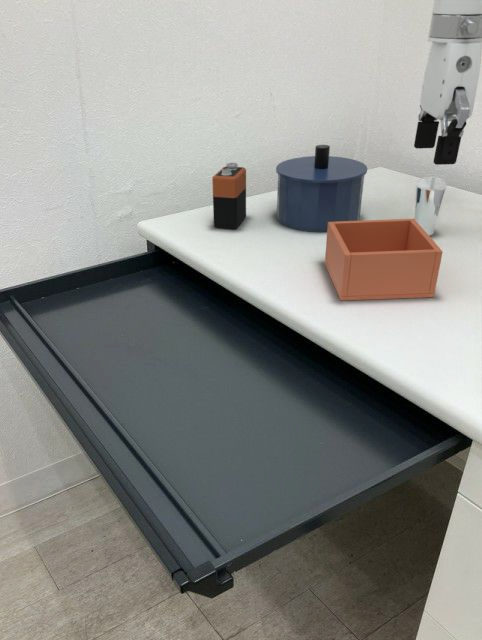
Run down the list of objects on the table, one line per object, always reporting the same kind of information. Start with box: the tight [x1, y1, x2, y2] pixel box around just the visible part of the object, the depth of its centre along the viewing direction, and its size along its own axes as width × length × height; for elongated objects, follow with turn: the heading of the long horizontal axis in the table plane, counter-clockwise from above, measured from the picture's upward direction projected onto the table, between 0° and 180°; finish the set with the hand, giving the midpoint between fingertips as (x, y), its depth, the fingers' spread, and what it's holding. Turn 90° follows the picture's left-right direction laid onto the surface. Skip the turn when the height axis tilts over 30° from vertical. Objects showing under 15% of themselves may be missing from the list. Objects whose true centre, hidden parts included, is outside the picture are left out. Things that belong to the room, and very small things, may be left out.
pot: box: [276, 174, 365, 233], centre depth 106 cm, size 15×15×8 cm
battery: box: [212, 162, 247, 230], centre depth 105 cm, size 4×7×10 cm, turn 161°
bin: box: [324, 218, 444, 301], centre depth 84 cm, size 13×13×7 cm
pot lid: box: [275, 144, 368, 183], centre depth 103 cm, size 16×16×5 cm
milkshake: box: [413, 176, 447, 237], centre depth 97 cm, size 4×5×10 cm
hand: (433, 155), depth 93 cm, fingers open, 9 cm apart
